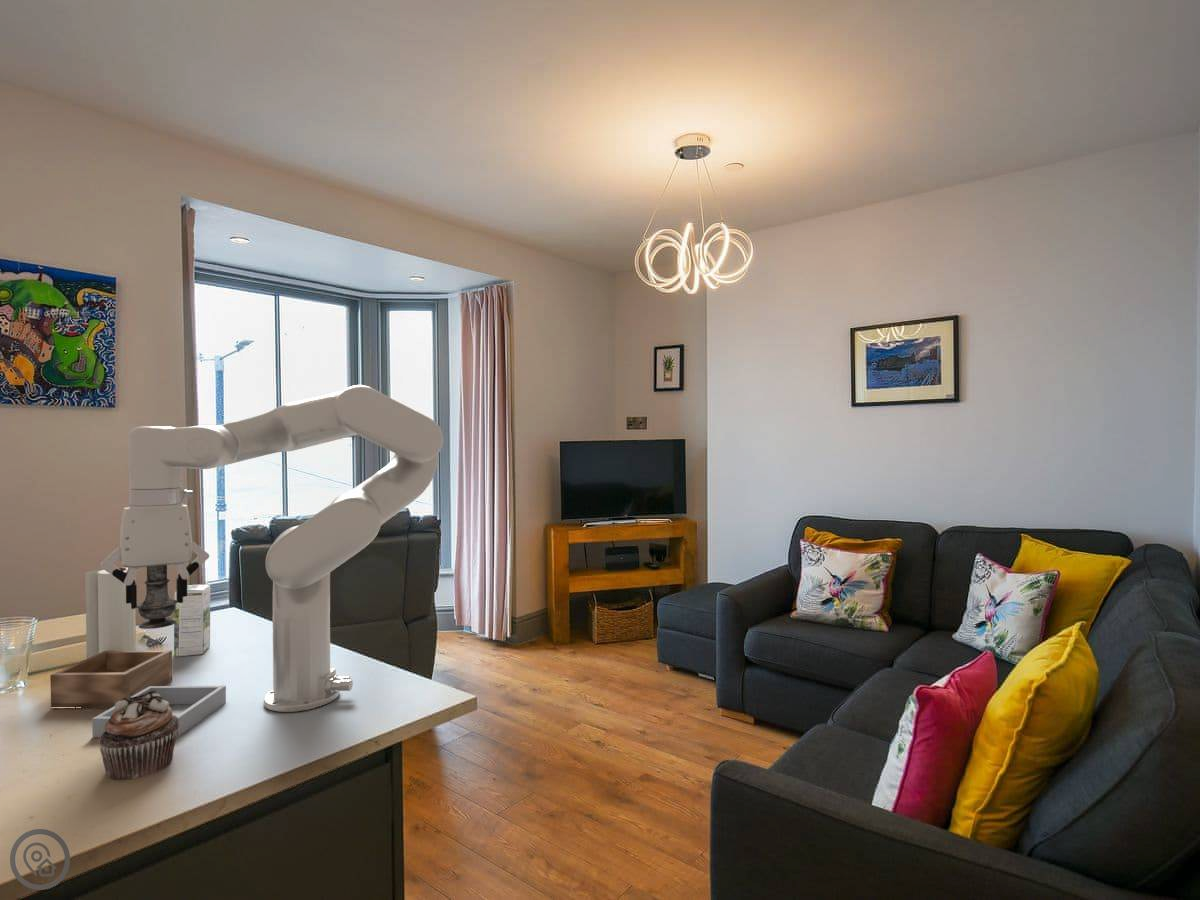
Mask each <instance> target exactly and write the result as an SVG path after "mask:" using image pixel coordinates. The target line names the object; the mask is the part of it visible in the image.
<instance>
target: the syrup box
mask: <svg viewBox="0 0 1200 900" xmlns="http://www.w3.org/2000/svg"><path fill="white" fill-rule="evenodd" d="M173 599H174V600H177V591H176V590H175V591H174V598H173ZM173 613H174V615H173V620H175V621H176V623H175V624H173V657H187V656H195V655H204V654H205V652H206V651H207V650H208V649H209V648H210V647H211V585H210V584H191V585H189V584H187V596H186V597H183V603H179V602H177V604H176V607H175V610H174V612H173Z"/></svg>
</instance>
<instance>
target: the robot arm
mask: <svg viewBox="0 0 1200 900" xmlns="http://www.w3.org/2000/svg"><path fill="white" fill-rule="evenodd" d="M354 436H360V437H361V438H364V439H365V440H368V441H370V442H371V443H373V444H375V445H377V446H379V447H381V448H383V449H385V450H387V451H390V452H392V453H394V456H393V458H391V460H390V462H389V463H387V464H386V465H385V466H384V467H382V468H381V469H379V470H378V471H376V472H375V473H374V474H372V476H370V477H369V478H367V479H365V480H364V481H363V482H361V483H359V484H358V485H356V486H355V487H353V488H351V489H350V490H348V491H347V492H344V493H343V494H340V495H339V496H337V497H336V498H334V499H333V501H332V502H331V501H330V502H331V503H330V504H328V505H327V506H325V507H324V508H323V509H321V510H320V511H318V512H317V513H315V514H314V515H312V516H311V517H309V518H308V519H306V520H305V521H304V522H302V523H301V524H299V525H295V526H291V527H289V528H288V529H286V530H284V531H283V532H281V533H280V534H279V535H278V536H277V537H276V539H275V540H274V541H273V543H272V544H271V546H270V547H269V548H268V551H267V554H266V557H265V569H266V573H267V575H268V577H269V578H270V579H271V581H272V678H273V679H272V681H273V682H272V683H273V684H272V685H273V687H272V689H271V690H270V691H268V692H267V693H266V694H265V695H264V697H263V706H264V707H265V708H266V709H267V710H270V711H274V712H278V713H295V712H302V711H308V710H309V711H310V710H312V709H315V708H316V707H317V708H319V706H320V707H322V705H323V706H325V705H327V704H329V703H331V702H333V701H334V700H336V699H337V698H338V696H339V694H340V692H349V691H350V692H351V691H352V689H353V684H354V683H353V680H352V679H351V676H350V675H349V676H346V675H345V676H338V675H337V674H336V673H337V672H336V671H337V670H336V668H334V667H333V668H331V572H333V571H334V570H335V569H337V568H339V567H340V566H341V565H342V564H344V563H346V562H347V561H349V559H351V558H353V557H354V556H355V555H357V554H358V553H359V552H361V551H362V550H364V549H365V548H367V546H368V545H370V543H372V542H373V541H374V540H375V538H376V537H377V536H378V534H379V532H380V529H381V526H382V525H383V524H385V523H387V522H388V521H389V520H390V519H391V518H393V517H394V516H396V515H398V514H399V513H400V512H401V511H402V510H403V509H405V508H406V507H408V506H409V505H411V503H413V502H414V501H415V500H417V499H418V498H419V497H420V496H421V495H422V494H423V493H425V491H426V490H427V488H428V487H429V486H430V484H431V482H432V481H433V479H434V476H435V473H436V471H437V466H438V464H439V453H440V452H441V450H442V447H443V445H444V434H443V431H442V429H441V427H440V426H439V424H438V423H437V422H436V421H435V420H433V419H432V418H430V417H429V416H426V415H425V414H422V413H421V412H418V411H417V410H415V409H413V408H411V407H409V406H406V405H405V404H403V403H401V402H399V401H397V400H395V399H393V398H391V397H389V396H388V395H385V394H384V393H382V392H380V391H379V390H377V389H375V388H373V387H371V386H368V385H364V384H357V385H356V384H355V385H352V386H349V387H347V388H345V389H343V390H340V391H336V392H332V393H330V394H324V395H321V396H320V395H319V396H316V397H312V398H307V399H303V400H297V401H292V402H288V403H284V404H282V405H280V406H278V407H276V408H273V409H272V410H270V411H268V412H266V413H262V414H258V415H255V416H252V417H248V418H245V419H240V420H236V421H235V420H234V421H232V422H231V421H230V422H227V423H222V424H217V425H208V424H207V425H203V424H201V425H193V426H183V427H175V426H164V425H163V426H161V425H159V426H158V425H153V426H152V425H149V426H148V425H142V426H136V427H133V428H131V430H130V432H129V434H128V477H129V479H128V480H129V482H128V485H129V491H128V493H129V503H128V504H129V506H128V507H124V508H123V511H122V515H121V520H120V533H119V546H118V547H117V548H115V549H114V550H113V551H112V552H111V553H110V554H109V555H108V556H107V557H105V559H104V560H102V562H100V566H99V567H100V568H101V570H105V571H107V572H108V573H110V574H112V575H113V576H114V577H116V578H117V579H118V580H120V581H121V582H123V583H124V584H125V585H126V604H128V603H131V609H135V608H136V609H138V608H137V605H138V603H137V602H138V601H137V593H138V591H137V590H138V589H137V588H138V587H137V586H138V585H137V582H136V576H137V574H138V571H139V569H140V568H147V567H151V566H162V565H167V566H169V565H170V566H172V565H175V567H176V569H177V571H178V575H177V578H176V581H175V582H176V583H175V584H176V590H175V591H177V602H179V603H183V597H186V596H187V585H188V579H189V578H190V577H191V575H192V574H194V572H195V571H197V569H199V567H201V565H202V564H204V563H205V562H206V561H207V560H208V559H209V558H210V554H209V553H208V552H207V551H205V550H204V549H203V548H202V547H201V546H200V545H198V544H197V543H196V542H195V541H193V537H192V525H191V524H192V523H191V519H190V511H189V507H188V505H187V504H184V501H186V500H188V499H193V490H187V489H185V488H183V487H184V486H183V475H184V474H183V468H187V469H195V470H209V469H216V468H219V467H224V466H229V465H232V464H235V463H240V462H244V461H247V460H252V459H257V458H259V457H264V456H268V455H272V454H276V453H277V454H278V453H283V452H285V453H286V452H293V451H298V450H303V449H306V448H310V447H314V446H317V445H322V444H326V443H330V442H334V441H337V440H341V439H346V438H350V437H354ZM193 553H194V554H195V555H196V558H195V559H194V560H193V561H191V562H190V563H189V564H188V565H187V566H186V565H185V563H187V562H189V561H190V560H191V559H192V557H193V556H192V555H193ZM118 559H119V560H120V563H121V566H123V568H128V570H127V572H126V573H125V572H124V571H122V570H121V569H119V568H120V567H117V566H116V565H115V563H116V561H118ZM134 578H135V579H134Z"/></svg>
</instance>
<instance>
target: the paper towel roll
mask: <svg viewBox="0 0 1200 900" xmlns="http://www.w3.org/2000/svg"><path fill="white" fill-rule="evenodd" d="M118 568H119V569H121V570H122V571H124V572H125V573H126V572H127V570H128V567H118ZM134 579H135V580H136V577H135V578H134ZM136 609H137V608H135V609H131V603H128V604H126V585H125V584H124V583H123V582H121V581H120V580H118V579H117V578H116V577H114V576H113V575H112V574H110V573H108V572H107V571H105V570H104V569H101V570H94V571H89V572H85V630H86V632H85V633H86V635H85V637H86V639H85V640H86V642H85V643H86V659H88V658H90V657H92V656H95V655H97V654H99V653H101V652H104V651H137V633H136V632H137V629H136V628H137V622H136V621H137V619H136V615H137V613H136Z"/></svg>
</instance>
